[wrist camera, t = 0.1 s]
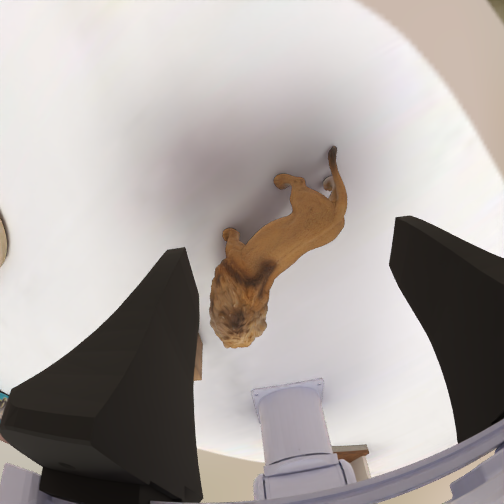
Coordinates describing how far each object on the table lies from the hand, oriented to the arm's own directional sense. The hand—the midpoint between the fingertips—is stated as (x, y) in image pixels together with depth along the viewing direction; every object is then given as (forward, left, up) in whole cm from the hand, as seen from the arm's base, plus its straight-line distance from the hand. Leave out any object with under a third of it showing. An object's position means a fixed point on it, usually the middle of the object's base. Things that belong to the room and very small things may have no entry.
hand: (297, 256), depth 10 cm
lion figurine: (-3, 0, -10) cm, 10 cm away
